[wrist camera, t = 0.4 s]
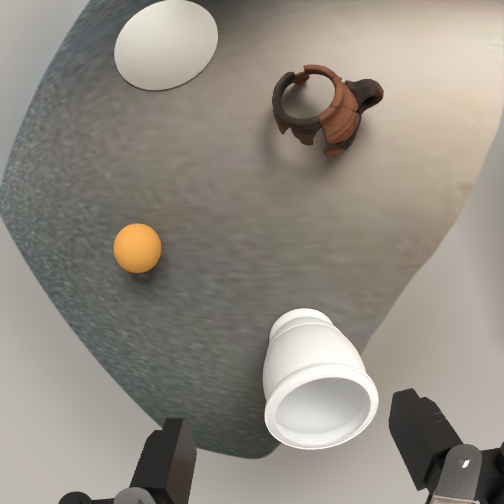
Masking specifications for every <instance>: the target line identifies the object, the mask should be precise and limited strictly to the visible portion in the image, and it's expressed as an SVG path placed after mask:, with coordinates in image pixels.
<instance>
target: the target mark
mask: <svg viewBox="0 0 504 504" xmlns="http://www.w3.org/2000/svg"><path fill="white" fill-rule="evenodd" d="M217 43H218V30H217V26H216V23H215V21H214V19H213V17H212V16H211V14H210V13H209V12H208V11H207V10H206V9H204V8H203V7H202V6H200V5H198V4H196V3H193V2H190V1H186V0H166V1H162V2H158V3H155V4H152V5H150V6H148V7H146V8H144V9H143V10H141V11H140V12H138V13H137V14H135V15H134V16H133V17H132V18H131V19H130V20H129V21H128V22H127V23H126V25H125V26H124V27H123V29H122V30H121V32H120V34H119V36H118V38H117V41H116V45H115V51H114V57H115V63H116V66H117V69H118V71H119V73H120V74H121V75H122V77H123V78H124V79H125V80H126V81H128V82H129V83H131V84H132V85H134V86H136V87H139V88H142V89H147V90H164V89H170V88H173V87H176V86H179V85H181V84H184V83H185V82H187V81H189V80H191V79H192V78H194V77H195V76H196V75H198V74H199V73H200V72H201V71H202V70H203V69H204V68H205V67H206V66H207V64H208V63H209V62H210V60H211V58H212V57H213V55H214V53H215V50H216V47H217Z"/></svg>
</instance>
